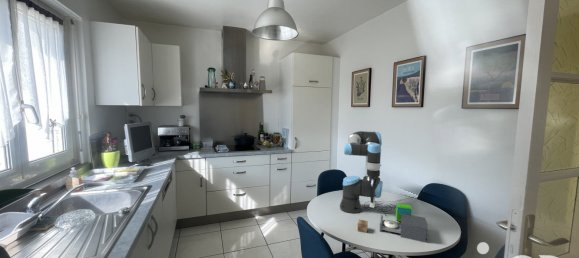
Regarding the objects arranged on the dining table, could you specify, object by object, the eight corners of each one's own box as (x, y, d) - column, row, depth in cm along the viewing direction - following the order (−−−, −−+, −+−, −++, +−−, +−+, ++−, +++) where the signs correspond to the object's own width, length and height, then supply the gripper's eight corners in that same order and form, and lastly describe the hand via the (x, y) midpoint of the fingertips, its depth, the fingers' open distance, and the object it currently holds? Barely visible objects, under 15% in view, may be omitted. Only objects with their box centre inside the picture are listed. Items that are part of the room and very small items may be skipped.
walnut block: (357, 231, 138) (357, 222, 137) (358, 227, 142) (359, 219, 142) (366, 233, 136) (366, 224, 135) (367, 229, 140) (367, 221, 140)
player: (400, 237, 132) (401, 223, 131) (400, 225, 144) (401, 213, 144) (427, 242, 126) (428, 228, 125) (424, 230, 139) (425, 217, 138)
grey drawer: (379, 230, 137) (379, 223, 137) (380, 222, 148) (381, 215, 147) (403, 235, 132) (403, 228, 132) (403, 226, 143) (403, 219, 142)
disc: (382, 227, 138) (383, 224, 138) (383, 221, 145) (384, 219, 145) (397, 230, 135) (397, 227, 134) (398, 224, 142) (398, 221, 142)
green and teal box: (409, 215, 158) (410, 201, 158) (412, 224, 146) (413, 209, 145) (393, 213, 162) (394, 199, 161) (395, 221, 150) (395, 206, 149)
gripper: (379, 172, 134) (377, 212, 136) (380, 167, 146) (379, 204, 148) (365, 170, 137) (364, 209, 139) (368, 166, 149) (366, 202, 151)
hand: (371, 206), depth 144 cm, fingers closed
